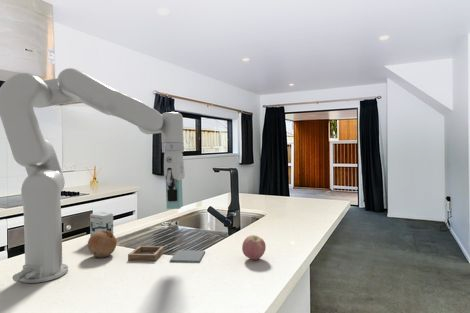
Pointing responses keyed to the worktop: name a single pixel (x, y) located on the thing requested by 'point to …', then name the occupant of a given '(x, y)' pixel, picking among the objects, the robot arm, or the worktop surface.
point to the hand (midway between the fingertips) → (174, 199)
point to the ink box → (101, 222)
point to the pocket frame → (146, 257)
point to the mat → (187, 256)
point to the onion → (102, 244)
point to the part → (179, 202)
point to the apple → (253, 247)
